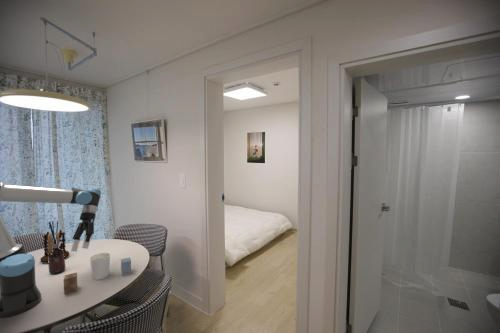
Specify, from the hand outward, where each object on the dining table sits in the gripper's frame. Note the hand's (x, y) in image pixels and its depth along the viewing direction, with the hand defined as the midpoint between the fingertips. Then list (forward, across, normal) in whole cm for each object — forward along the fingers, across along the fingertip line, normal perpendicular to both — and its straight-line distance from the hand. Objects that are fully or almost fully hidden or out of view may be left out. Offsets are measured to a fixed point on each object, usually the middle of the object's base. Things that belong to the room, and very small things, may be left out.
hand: (79, 249), depth 124 cm
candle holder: (+14, +1, -15) cm, 21 cm away
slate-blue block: (+13, -8, -25) cm, 29 cm away
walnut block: (+20, 0, -1) cm, 20 cm away
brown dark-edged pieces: (0, +48, -5) cm, 49 cm away
